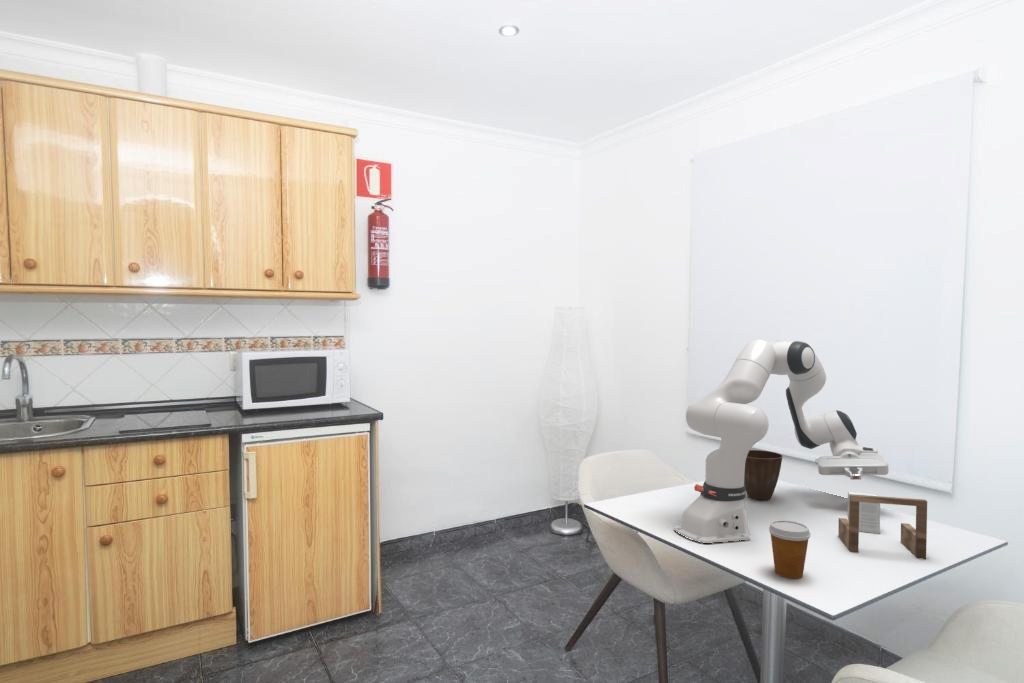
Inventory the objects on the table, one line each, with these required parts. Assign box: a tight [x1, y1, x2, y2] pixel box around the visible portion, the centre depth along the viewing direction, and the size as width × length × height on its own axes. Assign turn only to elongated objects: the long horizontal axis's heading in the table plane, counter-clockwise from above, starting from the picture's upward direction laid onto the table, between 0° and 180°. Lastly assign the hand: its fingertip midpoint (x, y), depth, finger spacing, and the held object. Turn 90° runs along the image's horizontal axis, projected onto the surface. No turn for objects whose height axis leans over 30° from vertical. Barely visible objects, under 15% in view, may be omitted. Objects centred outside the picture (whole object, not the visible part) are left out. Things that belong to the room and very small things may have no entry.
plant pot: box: [744, 449, 783, 502], centre depth 208 cm, size 15×15×16 cm
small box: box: [847, 491, 881, 535], centre depth 176 cm, size 8×6×10 cm
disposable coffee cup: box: [768, 519, 812, 580], centre depth 144 cm, size 10×10×12 cm
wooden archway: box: [837, 494, 928, 560], centre depth 161 cm, size 12×18×16 cm, turn 74°
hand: (855, 477), depth 185 cm, fingers closed
